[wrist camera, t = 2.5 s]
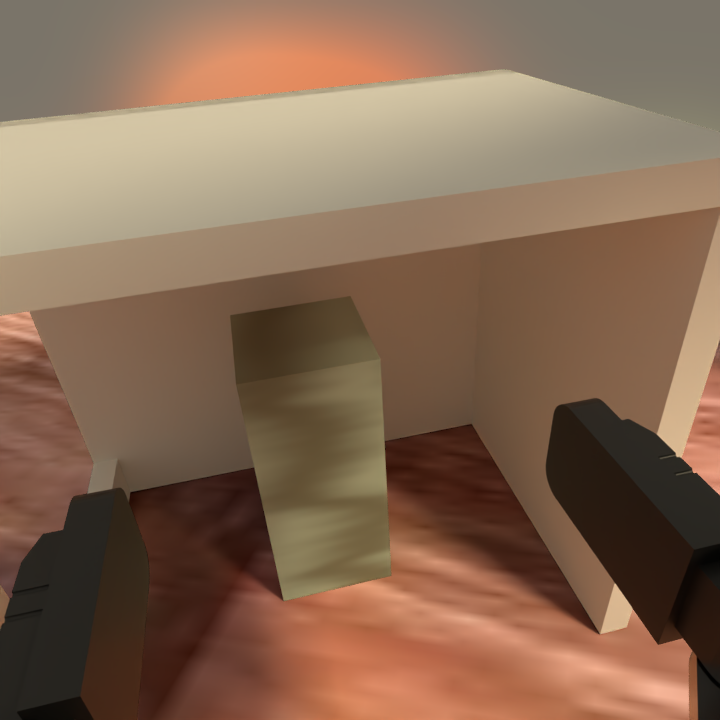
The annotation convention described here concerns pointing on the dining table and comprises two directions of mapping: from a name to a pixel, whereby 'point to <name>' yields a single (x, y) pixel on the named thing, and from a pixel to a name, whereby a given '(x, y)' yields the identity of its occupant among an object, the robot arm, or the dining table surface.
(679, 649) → the dining table surface
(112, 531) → the robot arm
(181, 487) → the dining table surface
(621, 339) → the cubby
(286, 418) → the sage block
